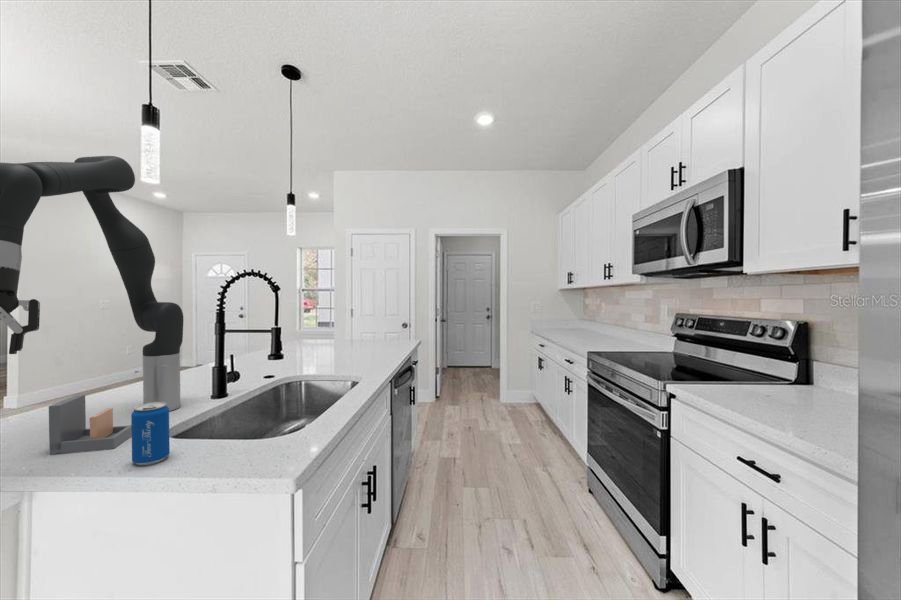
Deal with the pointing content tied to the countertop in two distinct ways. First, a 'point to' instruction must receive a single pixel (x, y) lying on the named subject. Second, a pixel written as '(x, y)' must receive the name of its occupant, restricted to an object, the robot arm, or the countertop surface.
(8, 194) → the robot arm
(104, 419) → the thin tan plate
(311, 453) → the countertop surface
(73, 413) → the grey bracket
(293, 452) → the countertop surface
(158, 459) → the beverage can
